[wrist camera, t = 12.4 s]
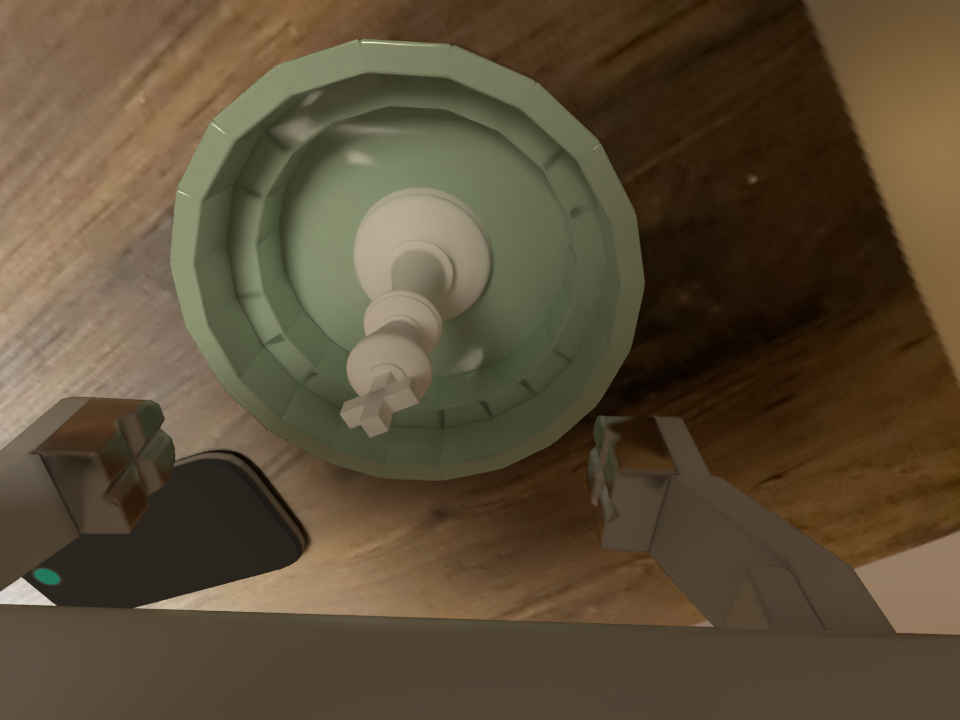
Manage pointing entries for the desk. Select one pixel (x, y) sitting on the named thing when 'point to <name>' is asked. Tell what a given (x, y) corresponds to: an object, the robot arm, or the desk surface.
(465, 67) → the bowl
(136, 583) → the smartphone
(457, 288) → the chess piece
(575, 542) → the desk surface
